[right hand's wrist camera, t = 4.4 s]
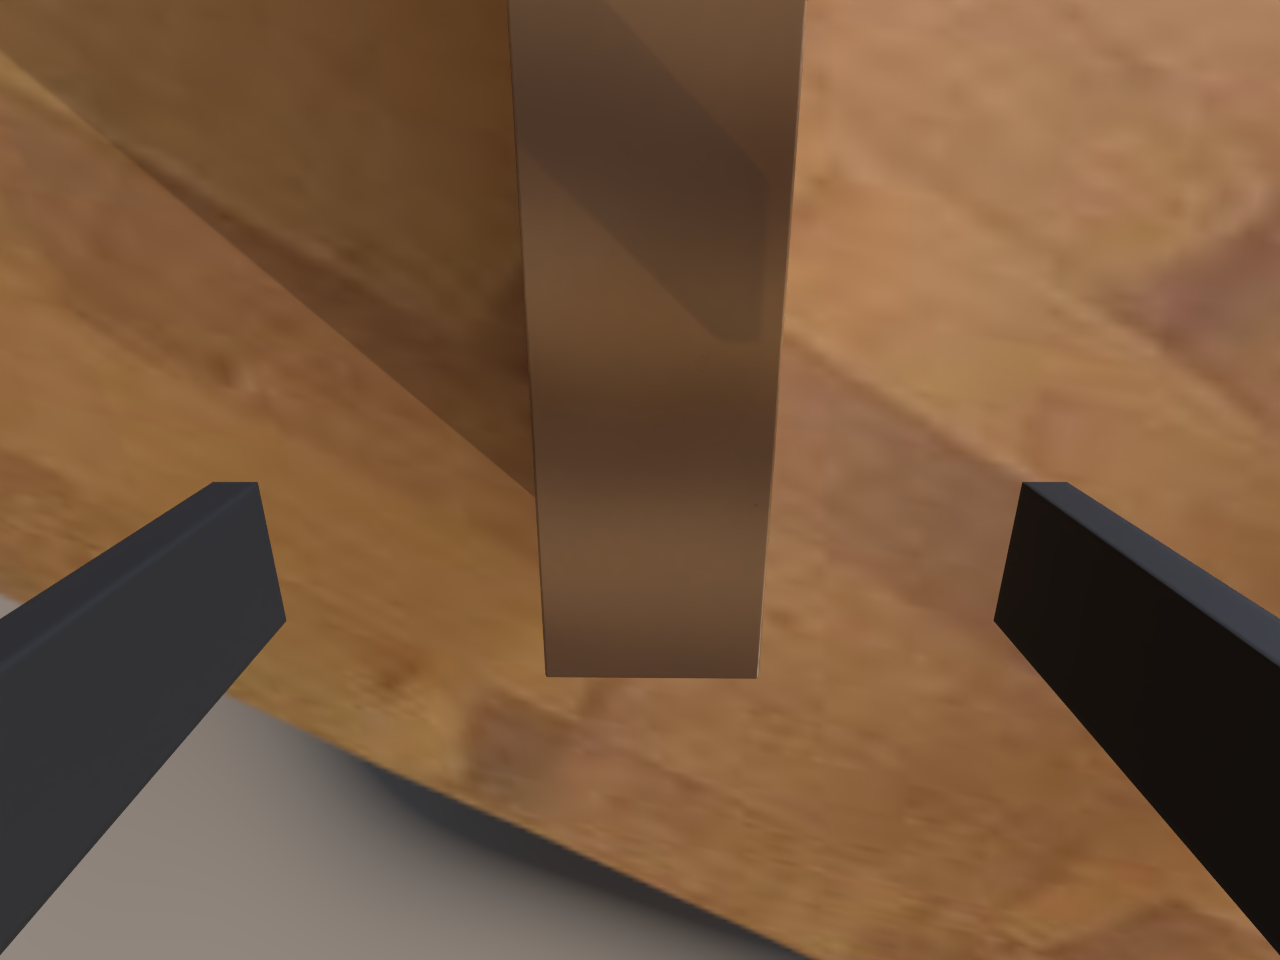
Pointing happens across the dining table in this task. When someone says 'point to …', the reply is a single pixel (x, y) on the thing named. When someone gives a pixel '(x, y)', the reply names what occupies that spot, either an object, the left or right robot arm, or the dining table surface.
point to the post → (654, 319)
